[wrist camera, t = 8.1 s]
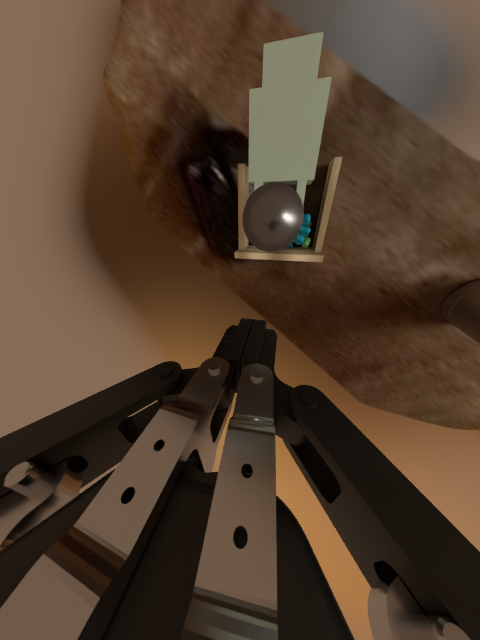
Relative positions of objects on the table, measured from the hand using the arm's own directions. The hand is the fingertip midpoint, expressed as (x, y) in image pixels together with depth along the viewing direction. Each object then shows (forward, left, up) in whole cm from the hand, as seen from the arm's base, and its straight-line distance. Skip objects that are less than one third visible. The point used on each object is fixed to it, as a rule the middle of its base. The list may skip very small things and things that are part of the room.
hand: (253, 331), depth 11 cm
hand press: (0, -11, -29) cm, 31 cm away
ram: (0, -6, -17) cm, 18 cm away
